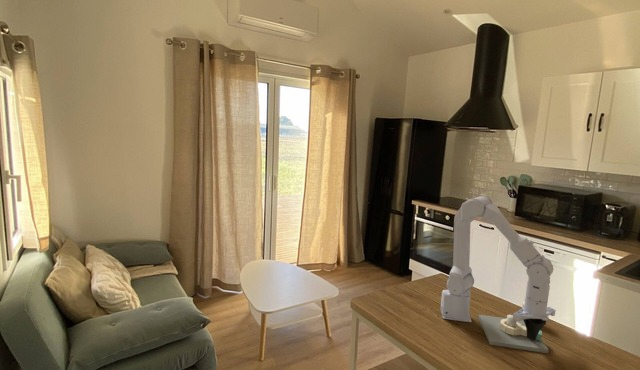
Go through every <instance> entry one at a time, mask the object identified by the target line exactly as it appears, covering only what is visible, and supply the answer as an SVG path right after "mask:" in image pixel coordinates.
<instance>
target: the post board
mask: <svg viewBox="0 0 640 370" xmlns="http://www.w3.org/2000/svg"><path fill="white" fill-rule="evenodd" d="M477 319H478V320H479V323H480V326H481V327H482V330H483V332H484V334H485V336H486V339H487V341H488V343H489V345H490V346H498V347H502V348H503V347H504V348H510V349H516V350H523V351H530V352H535V353H544V354H549V350H550V349H549V348H548V346H547V345H546V343H545V342H544V341H543V339H541V341H539V340H535V341H532V340H531V339H529V338H528V337H527V336H523V335H511V334H508V333H506V332H504V331H502V330H501V329H500V322H501V320H502V319H507V322H506V325H507V326H510V327H513V328H515V327H516V323H517V322H518V321H516V320H515V319H513V314H507V315H506V317H500V316H499V317H498V316H493V315H484V314H478V317H477ZM518 323H520V324H521V325H522V326H525V327H526V325H525V323H524V321H523V320H521V321H520V322H518Z"/></svg>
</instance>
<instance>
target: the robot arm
mask: <svg viewBox="0 0 640 370" xmlns="http://www.w3.org/2000/svg"><path fill="white" fill-rule="evenodd" d="M479 217H481V218H480V220H481V221H484V222H485V221H486V222H489V223H491V224H493V225H494V227H496V229H497V230H498V231H499V232H500V233H501V234H502V235H503V236H504V237H505V239H507V241H508V242H509V249H510V251H512V253H513V254H514V255H515V256H516V257H517V259H518V260H519V261H520V262H521V263H522V265H523V266H524V267H525V268H526V274H527V276H528V279H527V281H526V288H525V289H526V290H525V296H524V299H525V304H524V308H522V307H521V309H519V310H517V311H515V312H513V314H512V315H513V319H515V320H516V321H518V322H520V321H521V320H524V323H525V325H526V329H527V337H528V338H529V339H531V340H532V341H535V340H536V337H537V335H538V333H539V331H541V329H542V328H543V327H544V326H545V325H546V324H547V321H548V320H549V316H551V317H553V316H556V309H554V308H552V307H551V306H548V301H549V296H550V283H551V276H552V274H553V272H554V265H553V264H552V261H551V260H550V259H549V258H546V256H544V255H543V254H542V255H541V253H540V252H539V251H538V249H536V247H535V246H534V244H535V243H534V242H533V240H529V239H528V238H527V237H524V236H520V234H519V233H518V232H517V230H515V228H514V227H513V226H512V225H511V223H510V222H509V221H508V219H507V218H506V217H505V216H504V214H503V213H502V212H501V210H500V209H499V207H498V206H497V204H496V203H495V202H493V200H492V199H491V198H490V197H488V196H486V195H479V196H477V197H474V198H469V199H467V200H465V201H464V202H463V203H461V205H460V208H459V209H458V210H457V212H456V214H455V215H454V219H453V253H452V255H453V259H452V262H453V263H452V267H451V269H450V271H449V276H448V279H447V281H446V288H447V289H442V290H441V299H440V312H441V316H442V319H444V320H451V321H457V322H458V321H459V322H464V323H465V322H466V323H472V319H471V316H470V305H471V294H472V293H471V288H472V287H473V286H474V284H475V278H474V276H473V272H472V270H473V269H472V268H471V267H470V259H471V258H470V254H471V253H470V252H471V250H470V249H471V223H472V222H473V221H475V220H476V219H478V218H479Z"/></svg>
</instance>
